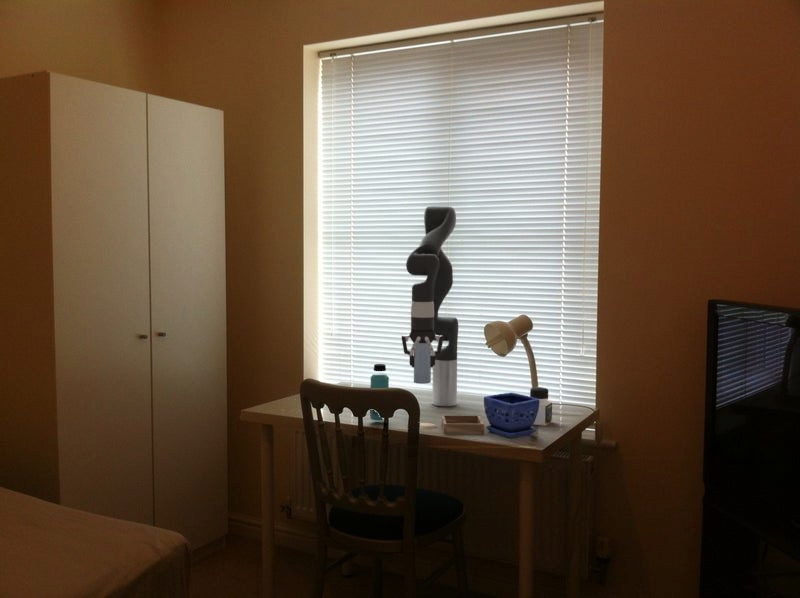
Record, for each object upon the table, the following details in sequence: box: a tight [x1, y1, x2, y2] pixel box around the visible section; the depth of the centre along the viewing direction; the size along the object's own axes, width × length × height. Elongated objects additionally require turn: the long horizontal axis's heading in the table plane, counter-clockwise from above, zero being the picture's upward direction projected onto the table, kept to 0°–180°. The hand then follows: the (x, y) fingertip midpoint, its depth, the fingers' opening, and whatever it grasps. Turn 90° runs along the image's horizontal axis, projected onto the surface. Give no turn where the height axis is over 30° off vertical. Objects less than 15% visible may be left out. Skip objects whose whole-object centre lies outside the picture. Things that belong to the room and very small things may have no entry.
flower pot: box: [483, 392, 540, 439], centre depth 230 cm, size 13×13×12 cm
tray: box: [441, 414, 485, 435], centre depth 235 cm, size 13×13×4 cm
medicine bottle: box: [529, 386, 553, 427], centre depth 246 cm, size 7×7×12 cm
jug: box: [413, 343, 432, 385], centre depth 236 cm, size 6×8×13 cm
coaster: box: [406, 422, 438, 431], centre depth 238 cm, size 10×10×1 cm
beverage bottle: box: [369, 363, 390, 422], centre depth 244 cm, size 6×7×20 cm
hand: (422, 366), depth 237 cm, fingers closed on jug, 5 cm apart
